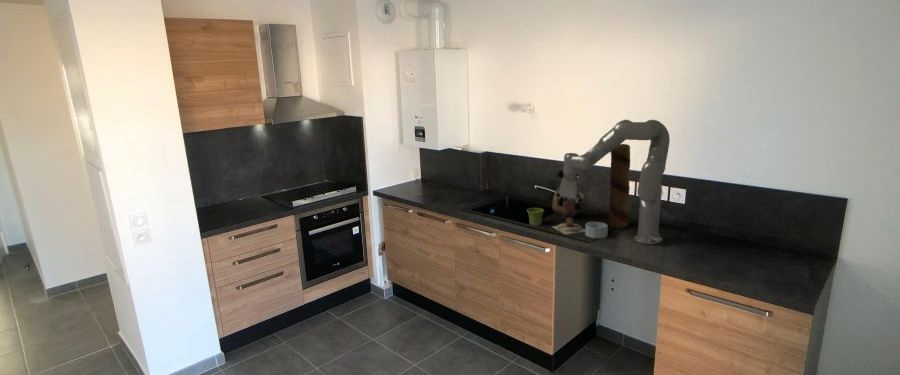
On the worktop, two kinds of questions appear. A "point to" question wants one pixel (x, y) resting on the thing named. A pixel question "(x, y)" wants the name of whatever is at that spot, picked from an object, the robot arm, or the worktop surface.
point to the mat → (567, 232)
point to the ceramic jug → (568, 204)
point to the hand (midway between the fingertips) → (569, 207)
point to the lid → (569, 226)
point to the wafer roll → (619, 186)
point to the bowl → (596, 230)
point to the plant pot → (535, 215)
